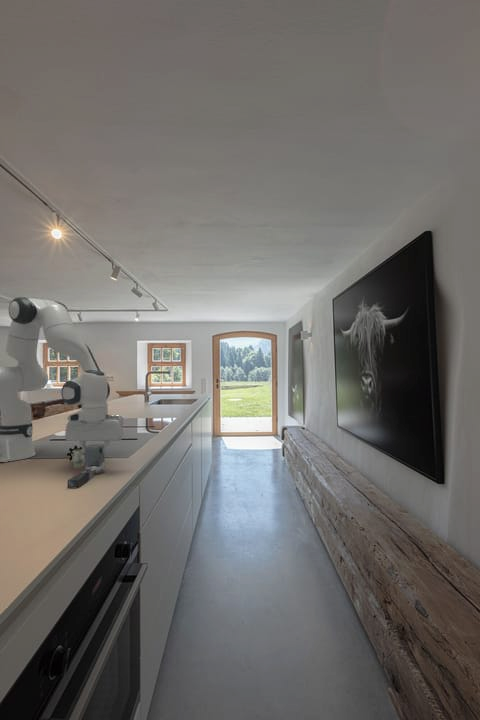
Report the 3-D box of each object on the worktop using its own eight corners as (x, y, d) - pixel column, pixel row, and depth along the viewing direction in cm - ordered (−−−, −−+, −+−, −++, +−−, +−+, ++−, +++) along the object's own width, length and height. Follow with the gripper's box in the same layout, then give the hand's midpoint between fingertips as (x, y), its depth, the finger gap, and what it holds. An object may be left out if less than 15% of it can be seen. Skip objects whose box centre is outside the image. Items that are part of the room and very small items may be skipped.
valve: (88, 467, 135) (84, 460, 145) (88, 449, 135) (84, 444, 145) (69, 469, 132) (66, 462, 142) (69, 452, 132) (66, 446, 142)
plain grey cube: (84, 465, 125) (84, 447, 125) (91, 461, 130) (90, 444, 130) (98, 465, 125) (98, 447, 125) (104, 461, 130) (104, 444, 130)
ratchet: (62, 488, 111) (62, 469, 111) (90, 469, 131) (90, 453, 131) (82, 488, 111) (82, 469, 111) (107, 469, 131) (107, 453, 131)
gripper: (126, 413, 131) (126, 450, 131) (71, 413, 131) (71, 451, 131) (120, 415, 125) (120, 454, 124) (62, 416, 125) (63, 455, 125)
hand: (94, 452), depth 128 cm, fingers open, 5 cm apart
